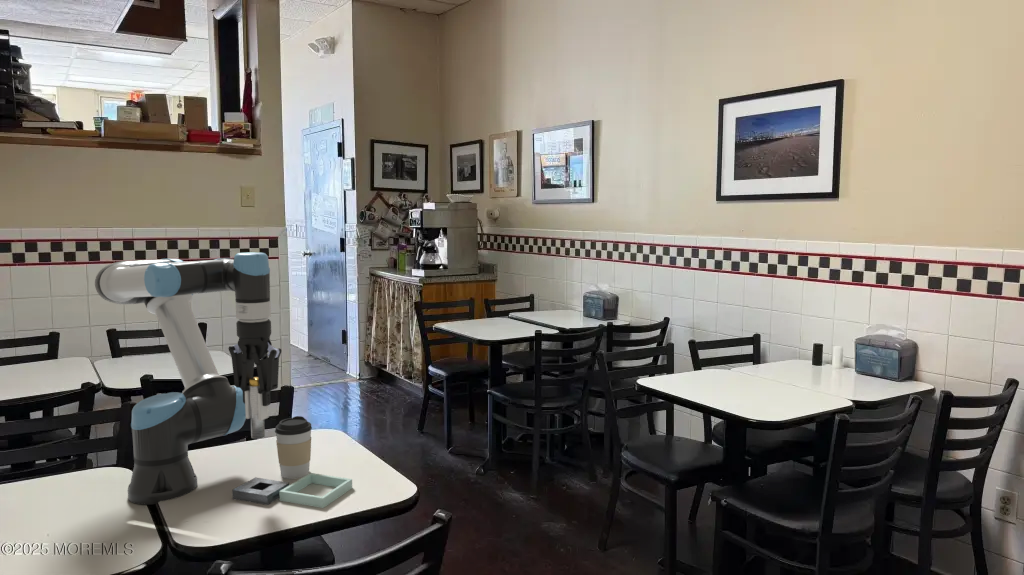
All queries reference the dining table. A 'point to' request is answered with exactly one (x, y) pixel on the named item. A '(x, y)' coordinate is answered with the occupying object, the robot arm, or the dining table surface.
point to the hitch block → (259, 491)
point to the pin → (255, 410)
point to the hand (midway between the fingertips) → (257, 417)
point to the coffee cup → (294, 447)
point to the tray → (292, 496)
